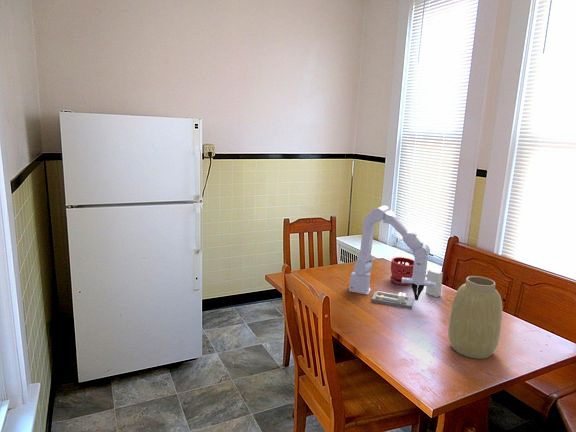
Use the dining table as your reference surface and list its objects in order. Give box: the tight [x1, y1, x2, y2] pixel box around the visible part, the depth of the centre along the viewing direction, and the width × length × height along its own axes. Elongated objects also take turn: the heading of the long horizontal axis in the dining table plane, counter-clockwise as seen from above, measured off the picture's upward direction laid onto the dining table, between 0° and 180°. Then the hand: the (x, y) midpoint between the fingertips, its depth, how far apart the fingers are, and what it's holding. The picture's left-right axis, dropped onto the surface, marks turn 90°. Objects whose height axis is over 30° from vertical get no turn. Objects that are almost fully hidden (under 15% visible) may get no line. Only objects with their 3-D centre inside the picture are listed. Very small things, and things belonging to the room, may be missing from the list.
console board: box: [370, 290, 415, 310], centre depth 192 cm, size 18×10×2 cm, turn 68°
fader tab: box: [397, 292, 407, 301], centre depth 190 cm, size 3×4×3 cm
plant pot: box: [390, 256, 414, 286], centre depth 216 cm, size 13×13×12 cm
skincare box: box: [425, 268, 444, 298], centre depth 201 cm, size 6×4×12 cm
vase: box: [447, 275, 503, 360], centre depth 149 cm, size 17×17×27 cm
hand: (416, 299), depth 188 cm, fingers closed
